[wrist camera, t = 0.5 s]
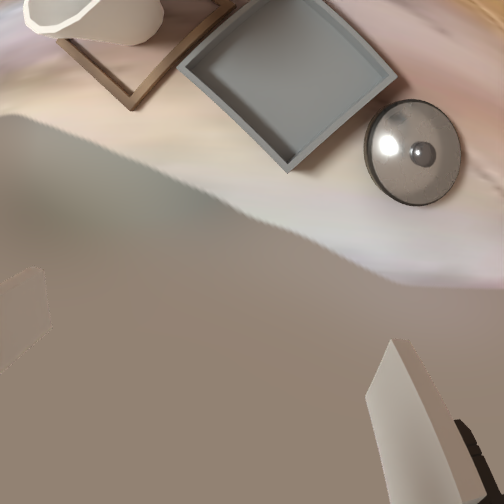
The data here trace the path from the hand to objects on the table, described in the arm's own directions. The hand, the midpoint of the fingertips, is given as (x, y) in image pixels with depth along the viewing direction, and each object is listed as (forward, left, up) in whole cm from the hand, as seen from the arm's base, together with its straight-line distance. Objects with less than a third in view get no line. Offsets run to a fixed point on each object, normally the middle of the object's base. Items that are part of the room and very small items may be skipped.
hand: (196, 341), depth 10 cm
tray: (-12, -7, -22) cm, 26 cm away
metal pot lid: (-16, +7, -22) cm, 28 cm away
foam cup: (-6, -23, -22) cm, 32 cm away
